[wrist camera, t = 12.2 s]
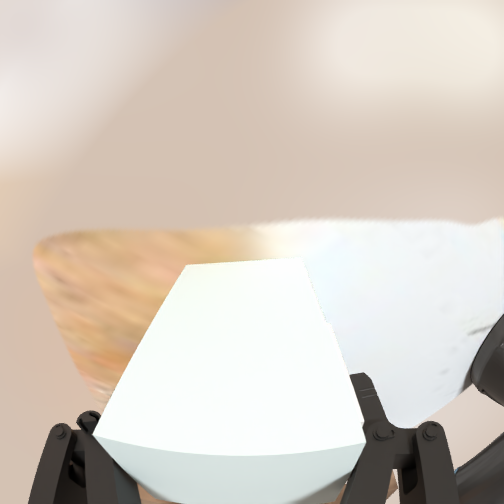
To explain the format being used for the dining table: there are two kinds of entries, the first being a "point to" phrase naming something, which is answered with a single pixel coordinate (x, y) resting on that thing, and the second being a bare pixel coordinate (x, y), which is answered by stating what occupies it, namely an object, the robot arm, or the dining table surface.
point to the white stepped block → (236, 393)
